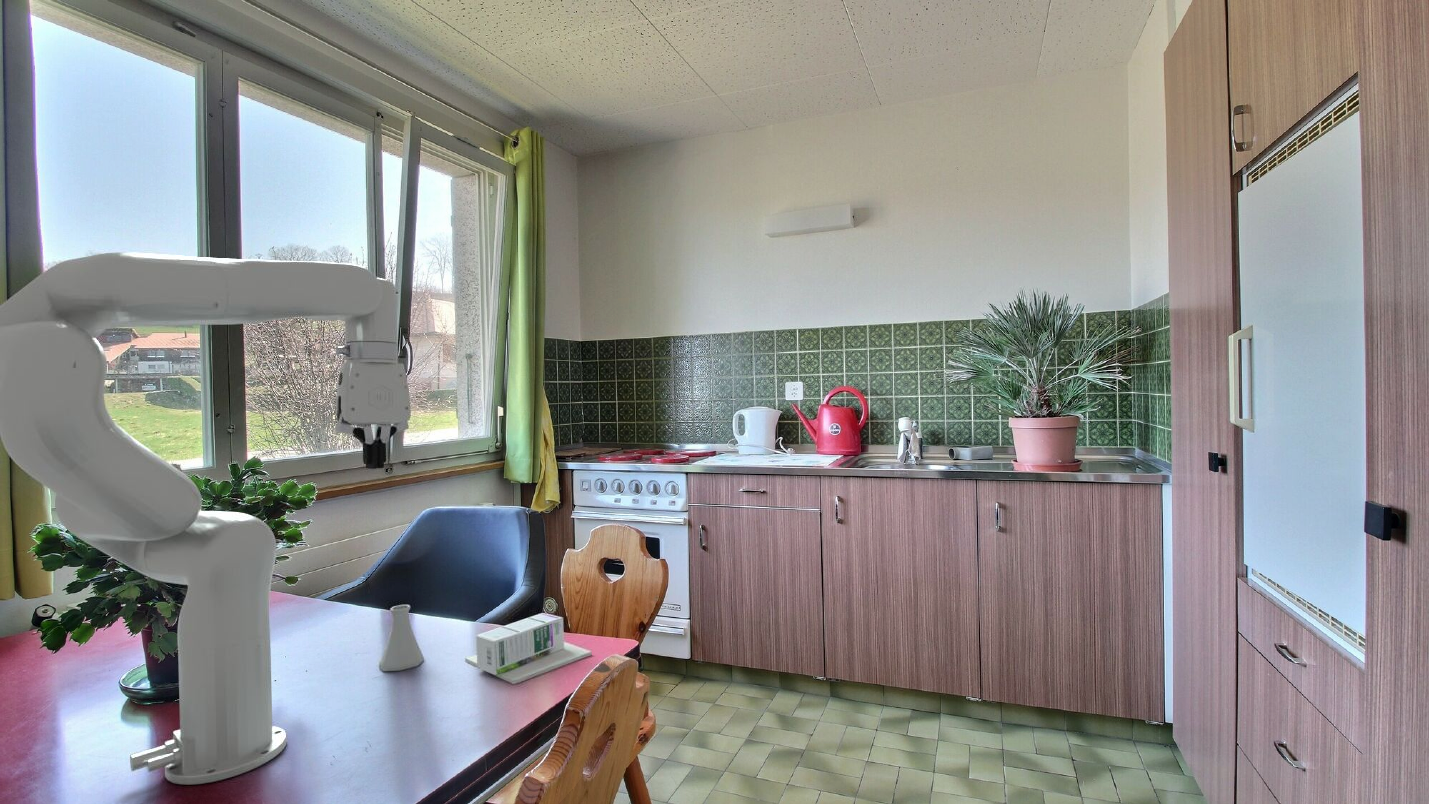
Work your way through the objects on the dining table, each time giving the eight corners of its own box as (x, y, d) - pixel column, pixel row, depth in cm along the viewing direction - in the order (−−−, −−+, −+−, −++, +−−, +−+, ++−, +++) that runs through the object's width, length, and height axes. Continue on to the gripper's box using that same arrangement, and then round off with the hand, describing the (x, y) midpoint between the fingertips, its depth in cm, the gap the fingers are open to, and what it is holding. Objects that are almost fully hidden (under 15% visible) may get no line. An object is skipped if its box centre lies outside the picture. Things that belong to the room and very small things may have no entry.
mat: (513, 684, 105) (513, 680, 105) (465, 661, 115) (465, 658, 115) (591, 654, 117) (591, 651, 117) (541, 636, 127) (540, 633, 127)
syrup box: (494, 640, 107) (565, 617, 119) (474, 634, 111) (544, 611, 122) (496, 676, 107) (566, 648, 118) (475, 668, 111) (545, 642, 122)
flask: (423, 668, 113) (421, 610, 113) (376, 675, 110) (374, 616, 110) (425, 654, 120) (423, 599, 120) (380, 660, 117) (379, 604, 117)
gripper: (329, 351, 99) (333, 473, 99) (428, 355, 110) (431, 465, 110) (312, 355, 104) (315, 471, 104) (408, 358, 115) (410, 463, 115)
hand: (374, 467), depth 107 cm, fingers closed
